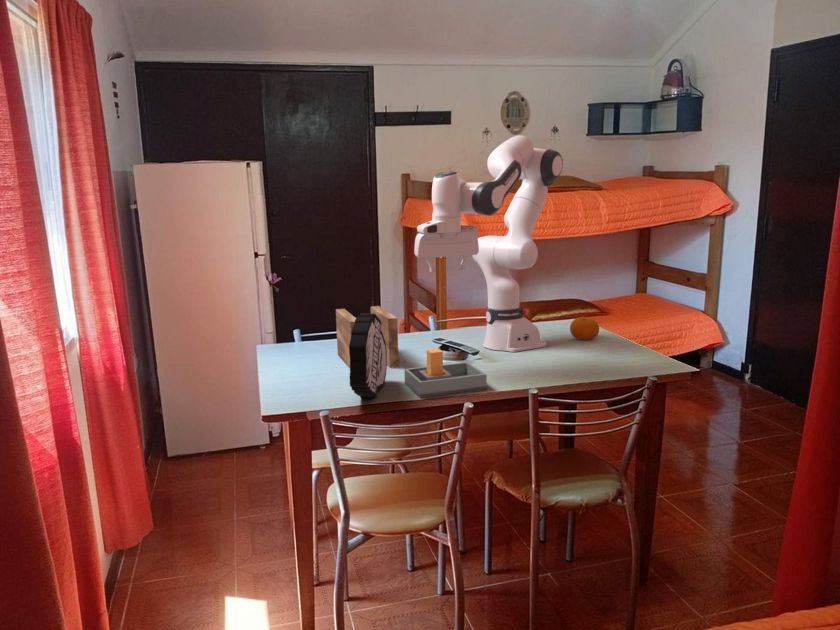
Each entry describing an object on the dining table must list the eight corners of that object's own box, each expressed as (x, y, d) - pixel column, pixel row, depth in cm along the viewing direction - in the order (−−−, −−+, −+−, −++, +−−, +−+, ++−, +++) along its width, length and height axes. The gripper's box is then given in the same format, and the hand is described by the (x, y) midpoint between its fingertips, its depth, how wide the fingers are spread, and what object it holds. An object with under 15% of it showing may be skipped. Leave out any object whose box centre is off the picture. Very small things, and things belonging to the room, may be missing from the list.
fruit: (569, 341, 243) (570, 320, 242) (569, 335, 253) (570, 314, 252) (599, 343, 241) (600, 321, 239) (598, 336, 251) (599, 315, 249)
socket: (442, 379, 198) (442, 368, 197) (451, 386, 191) (451, 374, 190) (418, 382, 195) (418, 370, 195) (427, 389, 189) (427, 377, 188)
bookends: (380, 350, 236) (378, 305, 233) (398, 366, 215) (397, 318, 212) (337, 354, 231) (335, 309, 228) (352, 371, 211) (350, 322, 207)
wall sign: (384, 404, 197) (362, 387, 169) (370, 403, 198) (345, 387, 169) (388, 331, 203) (368, 303, 175) (375, 331, 204) (352, 303, 175)
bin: (467, 376, 204) (467, 361, 203) (486, 389, 191) (486, 374, 190) (404, 383, 198) (404, 369, 197) (420, 398, 185) (419, 382, 184)
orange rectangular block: (438, 381, 196) (438, 348, 193) (443, 385, 192) (442, 351, 190) (427, 383, 194) (426, 349, 192) (431, 386, 191) (430, 352, 189)
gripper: (474, 224, 210) (474, 267, 213) (412, 226, 204) (413, 271, 207) (482, 225, 205) (482, 270, 207) (418, 228, 198) (419, 274, 201)
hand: (447, 271), depth 207 cm, fingers open, 8 cm apart
